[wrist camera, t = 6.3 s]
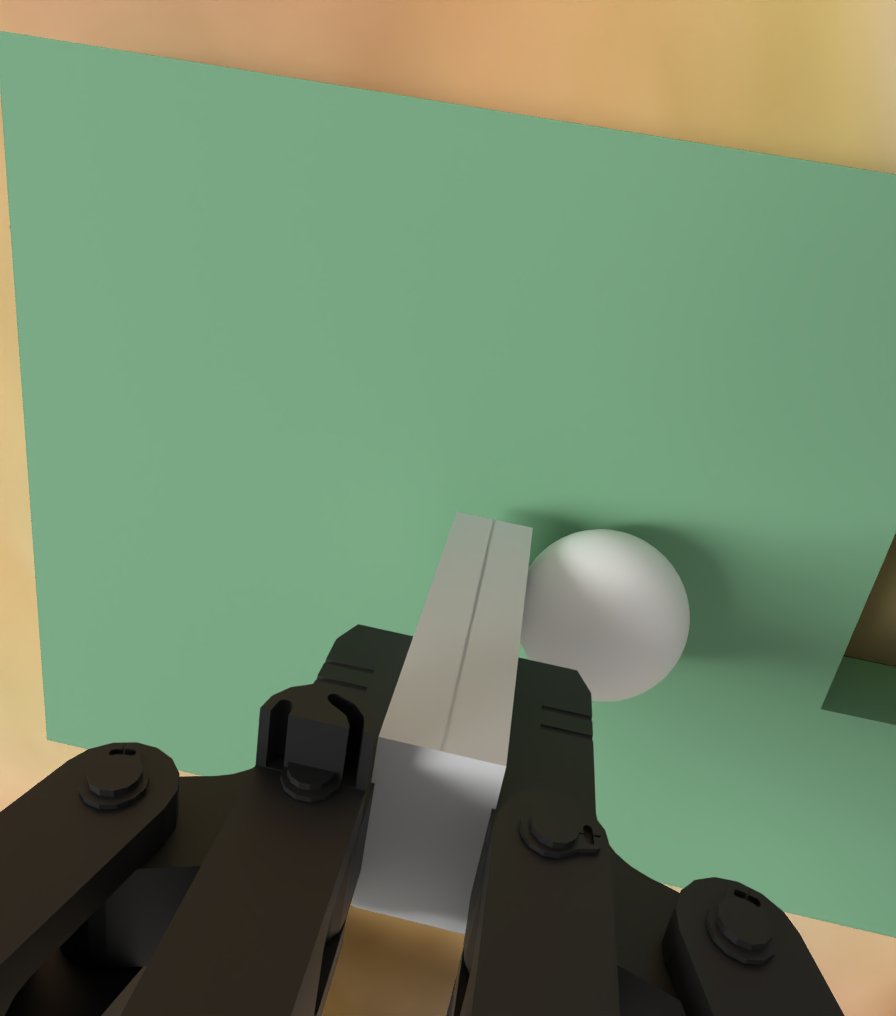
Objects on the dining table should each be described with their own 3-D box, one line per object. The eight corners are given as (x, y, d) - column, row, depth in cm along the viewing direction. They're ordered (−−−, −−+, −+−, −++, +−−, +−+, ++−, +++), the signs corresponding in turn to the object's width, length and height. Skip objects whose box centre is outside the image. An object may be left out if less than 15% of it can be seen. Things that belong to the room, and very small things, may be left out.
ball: (736, 550, 15) (587, 490, 16) (669, 601, 12) (500, 524, 14) (687, 692, 16) (552, 623, 17) (617, 765, 13) (468, 676, 15)
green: (78, 50, 16) (-103, 5, 12) (1435, 269, 14) (1807, 310, 10) (100, 682, 23) (-11, 801, 18) (1034, 894, 21) (1155, 1082, 16)
